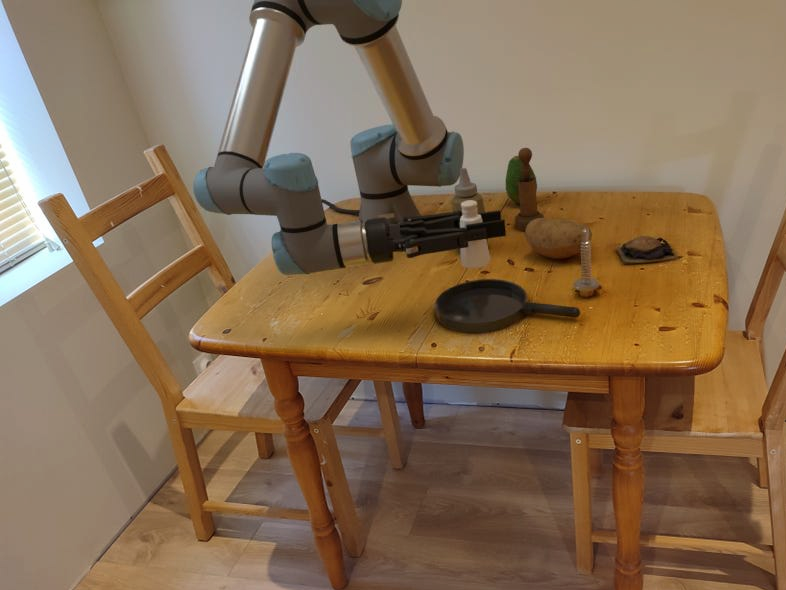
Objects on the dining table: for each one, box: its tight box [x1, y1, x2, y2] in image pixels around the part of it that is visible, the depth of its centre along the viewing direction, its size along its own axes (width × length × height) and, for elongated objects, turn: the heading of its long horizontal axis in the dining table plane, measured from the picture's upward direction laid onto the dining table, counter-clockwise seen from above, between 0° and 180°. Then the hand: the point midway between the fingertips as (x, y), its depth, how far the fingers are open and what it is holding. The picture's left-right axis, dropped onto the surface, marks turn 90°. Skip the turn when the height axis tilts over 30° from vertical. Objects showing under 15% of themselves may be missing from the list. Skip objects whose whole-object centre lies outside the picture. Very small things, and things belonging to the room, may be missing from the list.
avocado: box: [505, 155, 538, 205], centre depth 162 cm, size 8×8×12 cm
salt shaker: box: [459, 200, 491, 270], centre depth 112 cm, size 5×5×11 cm
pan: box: [434, 278, 529, 334], centre depth 120 cm, size 17×17×2 cm
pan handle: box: [522, 301, 581, 319], centre depth 115 cm, size 11×2×2 cm, turn 66°
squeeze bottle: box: [451, 167, 489, 251], centre depth 139 cm, size 8×8×18 cm
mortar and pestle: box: [514, 147, 544, 232], centre depth 148 cm, size 7×6×18 cm
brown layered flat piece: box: [616, 235, 676, 265], centre depth 132 cm, size 11×8×4 cm
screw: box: [572, 228, 600, 298], centre depth 118 cm, size 13×5×5 cm
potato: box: [524, 217, 593, 260], centre depth 134 cm, size 10×14×8 cm
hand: (502, 222), depth 112 cm, fingers closed on salt shaker, 4 cm apart
